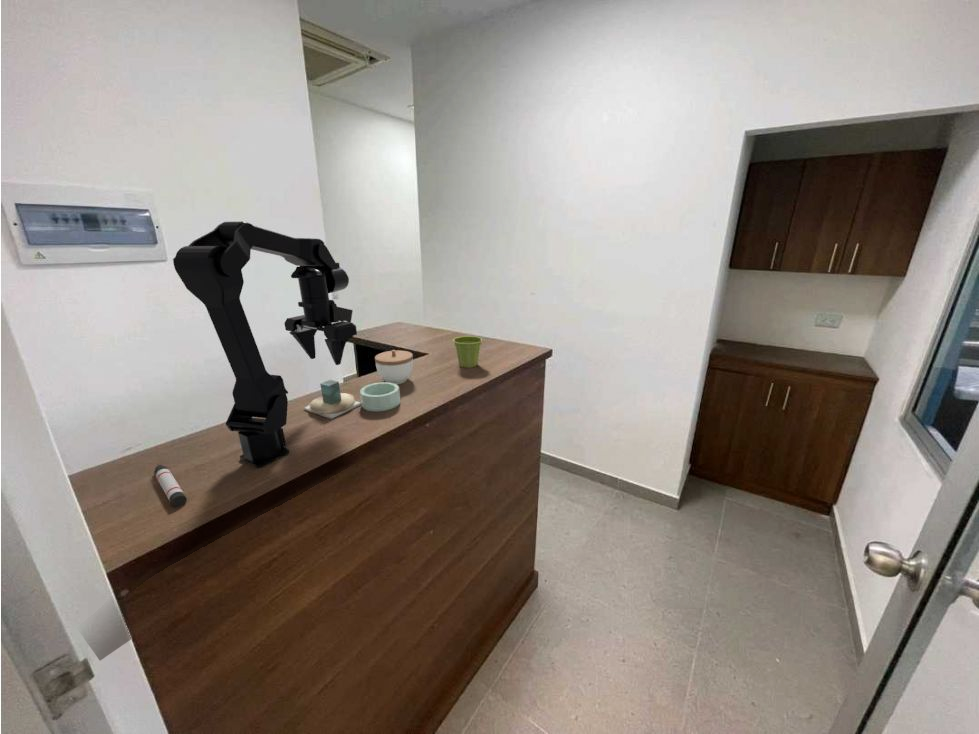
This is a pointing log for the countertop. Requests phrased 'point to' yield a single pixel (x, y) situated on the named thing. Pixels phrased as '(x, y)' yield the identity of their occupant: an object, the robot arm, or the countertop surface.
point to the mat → (335, 413)
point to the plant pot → (468, 350)
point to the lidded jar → (394, 366)
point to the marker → (170, 486)
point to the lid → (331, 399)
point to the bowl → (380, 396)
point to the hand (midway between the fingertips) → (325, 361)
